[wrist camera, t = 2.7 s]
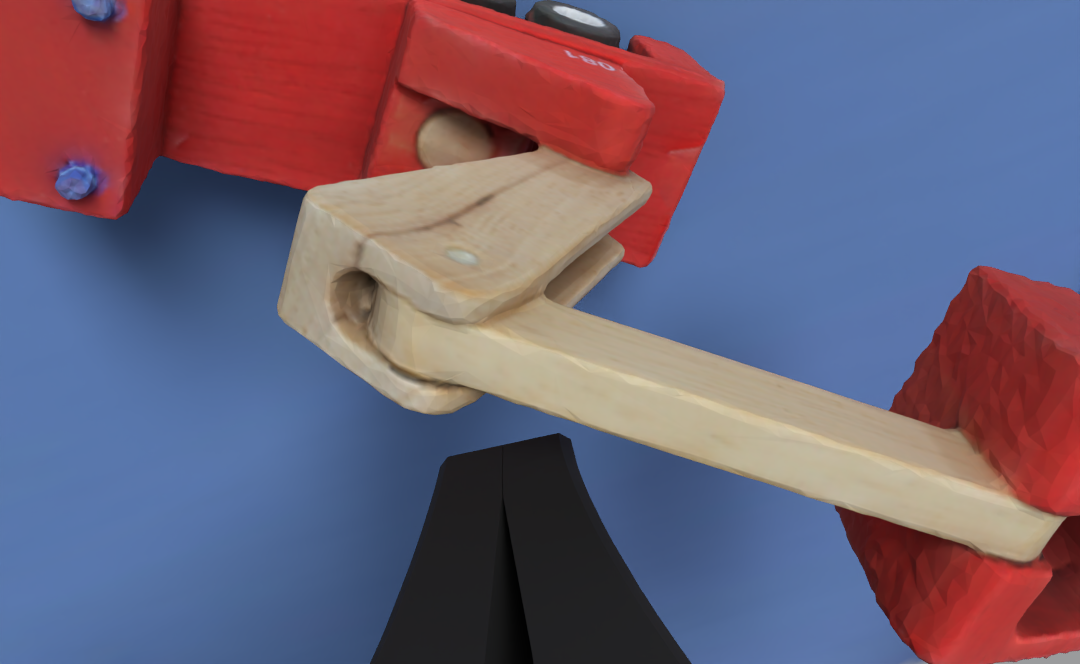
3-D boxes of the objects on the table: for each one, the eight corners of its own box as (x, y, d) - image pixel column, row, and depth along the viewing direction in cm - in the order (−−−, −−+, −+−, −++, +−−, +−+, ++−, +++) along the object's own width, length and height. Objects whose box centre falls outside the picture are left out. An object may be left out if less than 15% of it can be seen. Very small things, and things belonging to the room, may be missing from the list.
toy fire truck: (-15, -186, 12) (-742, -28, 4) (870, 96, 16) (1384, 448, 8) (-26, 65, 14) (-570, 545, 6) (786, 263, 18) (1150, 699, 10)
